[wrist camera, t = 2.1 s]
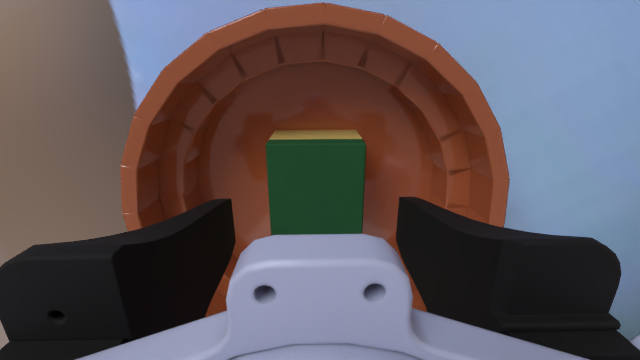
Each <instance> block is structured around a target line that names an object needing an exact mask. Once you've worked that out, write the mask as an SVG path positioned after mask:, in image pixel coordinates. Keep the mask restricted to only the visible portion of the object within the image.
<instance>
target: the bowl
mask: <svg viewBox="0 0 640 360" xmlns="http://www.w3.org/2000/svg"><path fill="white" fill-rule="evenodd" d="M500 129H501V128H500V126H499V124H498V122H497V120H496V118H495V116H494V114H493V112H492V111H491V109H490V107H489V105H488V103H487V101H486V99H485V97H484V95H483V93H482V91H481V89H480V87H479V85H478V84H477V82H476V81H475V80H474V79H473V78H472V77H471V76H470V75H469V74H468V73H467V72H466V71H465V70H464V69H463V67H462V66H461V65H460V64H459V63H458V62H457V61H456V60H455V59H454V58H453V57H452V56H451V55H450V54H449V53H448V52H447V51H446V50H445V49H444V48H443V47H442V46H441V45H440V44H439V43H437V42H436V41H434V40H432V39H430V38H429V37H427V36H425V35H423V34H421V33H419V32H417V31H416V30H414V29H412V28H410V27H408V26H406V25H405V24H403V23H401V22H399V21H397V20H395V19H393V18H392V17H390V16H388V15H386V16H385V15H384V14H381V13H376V12H371V11H366V10H361V9H356V8H351V7H346V6H341V5H336V4H331V3H326V4H325V3H324V2H323V3H313V4H303V5H293V6H283V7H273V8H265V9H264V10H259V11H257V12H254V13H252V14H250V15H247V16H245V17H242V18H240V19H238V20H235V21H233V22H230V23H228V24H226V25H223V26H221V27H218V28H216V29H214V30H211V31H210V32H209V33H208V32H207V33H205V34H204V35H203V36H202V37H201V38H199V39H198V40H197V41H196V42H195V43H193V44H192V45H191V46H190V47H189V48H187V49H186V50H185V51H184V52H183V53H181V54H180V55H179V56H178V57H177V58H176V59H174V60H173V61H172V62H171V63H170V64H168V65H167V66H166V67H165V68H164V69H163V70H162V71H161V73H160V75H159V76H158V78H157V79H156V81H155V82H154V84H153V85H152V87H151V89H150V90H149V92H148V93H147V95H146V96H145V98H144V100H143V101H142V103H141V104H140V106H139V107H138V109H137V111H136V112H135V114H134V117H133V120H132V124H131V128H130V131H129V135H128V139H127V143H126V146H125V150H124V154H123V157H122V161H121V167H120V168H121V198H122V213H123V218H124V221H125V224H126V227H127V230H128V231H133V230H137V229H140V228H144V227H147V226H150V225H153V224H156V223H159V222H162V221H164V220H167V219H169V218H172V217H174V216H177V215H179V214H181V213H184V212H186V211H188V210H190V209H193V208H195V207H197V206H199V205H201V204H203V203H206V202H208V201H211V200H214V199H231V200H232V210H233V219H234V229H235V239H236V242H235V246H234V249H233V253H232V256H231V260H230V262H229V264H228V266H227V268H226V271H225V273H224V275H223V277H222V279H221V281H220V283H219V285H218V288H217V290H216V292H215V294H214V296H213V298H212V300H211V303H210V305H209V307H208V310H207V313H206V316H205V317H208V316H211V315H214V314H217V313H221V312H224V311H227V305H226V297H227V292H228V287H229V282H230V279H231V276H232V274H233V271H234V269H235V266H236V264H237V262H238V259H239V257H240V254H241V252H243V251H244V250H245V249H246V248H247V247H248V246H249V245H250V244H251V243H252V242H253V241H254V240H256V239H260V238H264V237H268V236H271V228H270V211H269V195H268V179H267V162H266V146H265V145H266V143H267V142H268V140H269V139H270V137H271V136H272V134H273V133H274V131H275V130H356V131H357V132H358V133H359V135H360V136H361V137H362V138H363V140H364V142H365V143H366V165H365V187H364V208H363V230H362V234H366V235H371V236H375V237H379V238H383V239H384V240H385V241H386V242H387V243H388V244H390V245H391V246H392V247H393V248H394V249H395V250H396V251H397V253H398V255H399V257H400V260H401V262H402V264H403V266H404V268H405V270H406V272H407V275H408V277H409V280H410V285H411V289H412V294H413V301H412V308H414V309H418V310H421V311H425V312H427V310H426V307H425V304H424V302H423V300H422V298H421V296H420V294H419V292H418V290H417V288H416V286H415V284H414V282H413V280H412V278H411V276H410V274H409V272H408V270H407V268H406V266H405V264H404V262H403V260H402V258H401V255H400V252H399V249H398V245H397V242H396V229H397V218H398V206H399V197H417V198H420V199H423V200H426V201H428V202H430V203H433V204H435V205H437V206H440V207H442V208H444V209H447V210H449V211H452V212H454V213H457V214H459V215H462V216H465V217H467V218H470V219H473V220H477V221H480V222H483V223H487V224H491V225H495V226H499V227H504V223H505V215H506V207H507V198H508V189H509V180H510V179H509V172H508V167H507V161H506V155H505V150H504V144H503V138H502V133H501V130H500Z"/></svg>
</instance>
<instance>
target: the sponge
mask: <svg viewBox="0 0 640 360" xmlns="http://www.w3.org/2000/svg"><path fill="white" fill-rule="evenodd" d="M265 146H266V162H267V179H268V195H269V211H270V228H271V236H272V235H305V234H362V230H363V208H364V187H365V165H366V143H365V142H364V140H363V138H362V137H361V136H360V135H359V133H358V132H357V131H356V130H275V131H274V133H273V134H272V136H271V137H270V139H269V140H268V142H267V143H266V145H265Z"/></svg>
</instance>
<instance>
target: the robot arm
mask: <svg viewBox="0 0 640 360" xmlns="http://www.w3.org/2000/svg"><path fill="white" fill-rule="evenodd" d="M235 242H236V239H235V229H234V219H233V210H232V200H231V199H214V200H211V201H208V202H206V203H203V204H201V205H199V206H197V207H195V208H193V209H190V210H188V211H186V212H184V213H181V214H179V215H177V216H174V217H172V218H169V219H167V220H164V221H162V222H159V223H156V224H153V225H150V226H147V227H144V228H140V229H137V230H133V231H128V232H124V233H120V234H116V235H111V236H106V237H101V238H95V239H88V240H81V241H74V242H64V243H54V244H53V243H52V244H41V245H33V246H32V247H30V248H28V249H27V250H25V251H23V252H22V253H20V254H18V255H17V256H16V257H14V258H12V259H10V260H9V261H7V262H5V263H4V264H3V265H2V266H1V267H0V320H1V322H2V325H3V327H4V330H5V332H6V334H7V337H8V339H9V341H10V342H9V343H7V344H6V345H5V346H4V347H3V348H2V349H1V350H0V360H640V335H639V336H636V337H634V338H632V339H631V340H630V341H628V340H627V339H626V338H625V337H624V336H622V335H621V334H620V333H619V332H618V331H617V330H615V329H619V328H620V326H621V325H620V323H619V321H618V320H616V319H615V318H614V317H613V316H612V315H610V314H609V310H610V307H611V305H612V302H613V299H614V297H615V294H616V291H617V289H618V286H619V282H620V277H621V268H620V262H619V260H618V258H617V256H616V254H615V253H614V252H613V251H612V250H610V249H609V248H608V247H607V246H605V245H603V244H602V243H600V242H598V241H597V240H595V239H593V238H589V237H573V236H558V235H547V234H539V233H531V232H525V231H518V230H513V229H508V228H503V227H499V226H495V225H491V224H487V223H483V222H480V221H477V220H473V219H470V218H467V217H465V216H462V215H459V214H457V213H454V212H452V211H449V210H447V209H444V208H442V207H440V206H437V205H435V204H433V203H430V202H428V201H426V200H423V199H420V198H417V197H399V206H398V218H397V229H396V242H397V245H398V249H399V252H400V255H401V258H402V260H403V262H404V264H405V266H406V268H407V270H408V272H409V274H410V276H411V278H412V280H413V282H414V284H415V286H416V288H417V290H418V292H419V294H420V296H421V298H422V300H423V302H424V304H425V307H426V310H427V312H425V311H421V310H418V309H414V308H412V301H413V294H412V289H411V285H410V280H409V277H408V275H407V272H406V270H405V268H404V266H403V264H402V262H401V260H400V257H399V255H398V253H397V251H396V250H395V249H394V248H393V247H392V246H391V245H390V244H388V243H387V242H386V241H385V240H384V239H383V238H379V237H375V236H371V235H366V234H305V235H272V236H268V237H264V238H260V239H256V240H254V241H253V242H252V243H251V244H250V245H249V246H248V247H247V248H246V249H245V250H244V251H243V252H241V254H240V257H239V259H238V262H237V264H236V266H235V269H234V271H233V274H232V276H231V279H230V282H229V287H228V292H227V297H226V305H227V311H224V312H221V313H217V314H214V315H211V316H208V317H205V316H206V313H207V310H208V307H209V305H210V303H211V300H212V298H213V296H214V294H215V292H216V290H217V288H218V285H219V283H220V281H221V279H222V277H223V275H224V273H225V271H226V268H227V266H228V264H229V262H230V260H231V256H232V253H233V249H234V246H235Z"/></svg>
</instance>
